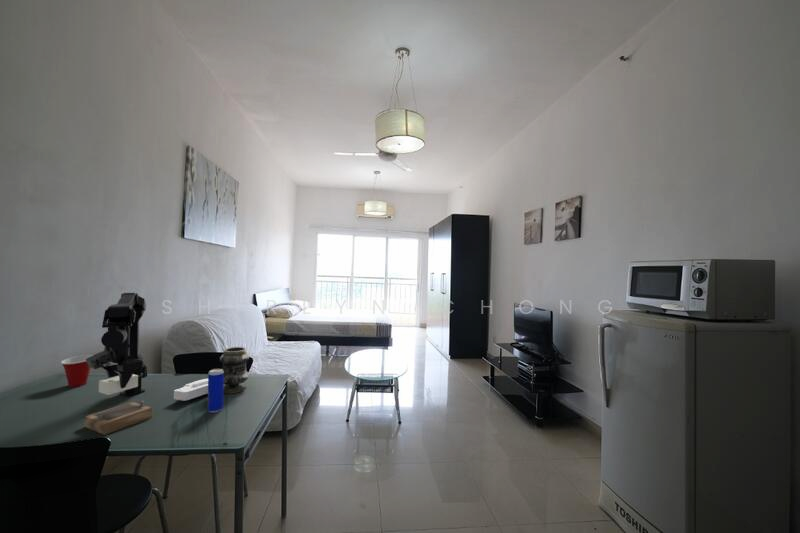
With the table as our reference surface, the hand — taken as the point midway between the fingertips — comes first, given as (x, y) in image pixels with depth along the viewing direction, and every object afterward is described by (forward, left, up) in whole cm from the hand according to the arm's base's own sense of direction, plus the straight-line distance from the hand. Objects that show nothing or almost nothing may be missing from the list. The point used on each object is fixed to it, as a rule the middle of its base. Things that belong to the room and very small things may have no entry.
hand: (118, 386), depth 119 cm
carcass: (+1, 0, -12) cm, 12 cm away
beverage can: (+21, +21, -12) cm, 33 cm away
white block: (0, 0, -1) cm, 1 cm away
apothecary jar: (+9, +39, -12) cm, 42 cm away
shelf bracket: (-4, +29, -9) cm, 31 cm away
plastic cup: (-56, +11, -12) cm, 58 cm away
